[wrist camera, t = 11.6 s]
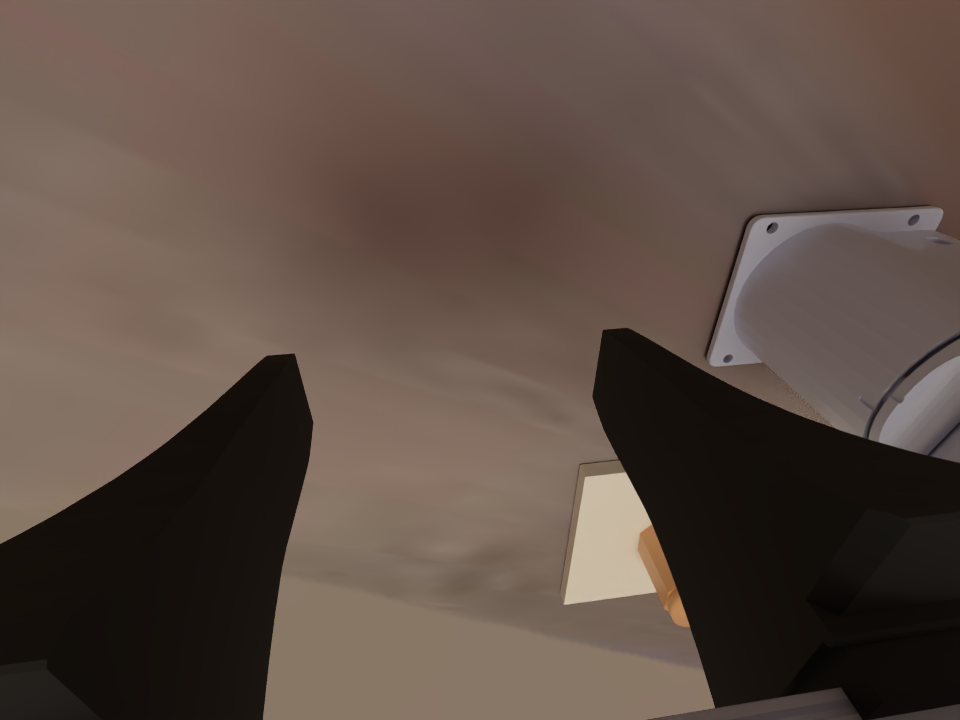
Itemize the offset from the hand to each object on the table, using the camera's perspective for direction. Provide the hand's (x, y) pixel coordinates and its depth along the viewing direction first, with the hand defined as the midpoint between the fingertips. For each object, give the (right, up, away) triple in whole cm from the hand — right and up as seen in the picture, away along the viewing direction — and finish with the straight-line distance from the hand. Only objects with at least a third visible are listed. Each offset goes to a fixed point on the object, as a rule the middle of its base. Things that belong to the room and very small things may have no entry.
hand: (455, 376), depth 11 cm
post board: (+14, -11, +22) cm, 29 cm away
